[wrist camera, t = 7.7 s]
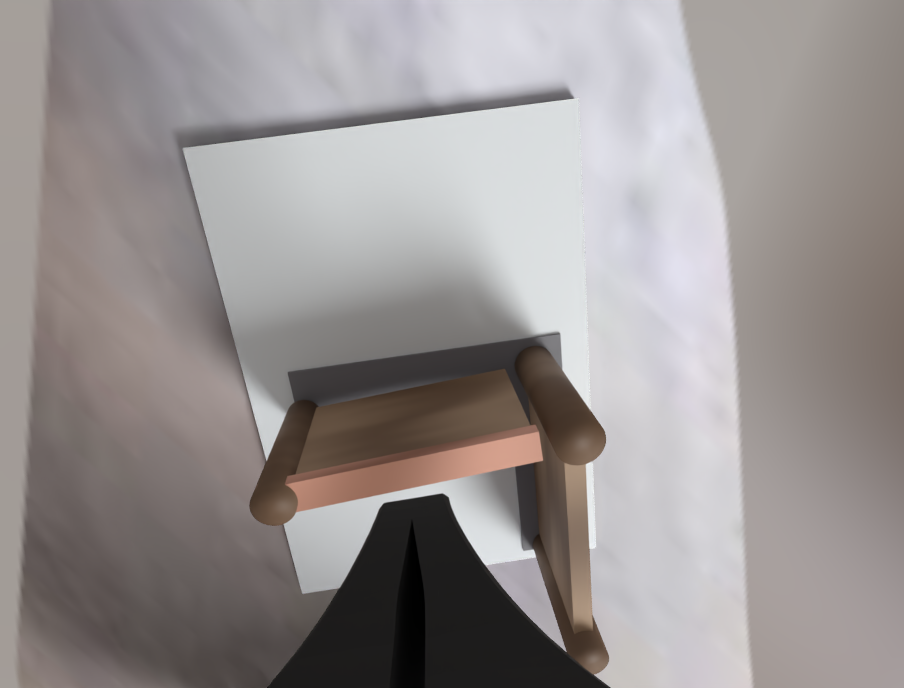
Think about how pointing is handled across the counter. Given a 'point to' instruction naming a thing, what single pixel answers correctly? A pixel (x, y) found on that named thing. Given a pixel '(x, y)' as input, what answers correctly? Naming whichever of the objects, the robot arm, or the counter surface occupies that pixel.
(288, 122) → the counter surface
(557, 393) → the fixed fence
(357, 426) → the panel
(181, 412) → the counter surface
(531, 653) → the robot arm
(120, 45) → the counter surface
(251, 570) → the counter surface
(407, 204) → the card
